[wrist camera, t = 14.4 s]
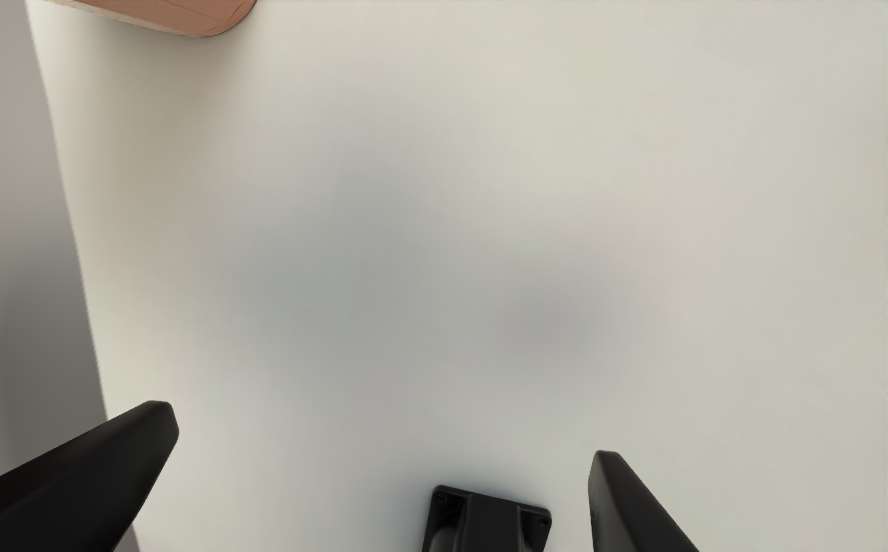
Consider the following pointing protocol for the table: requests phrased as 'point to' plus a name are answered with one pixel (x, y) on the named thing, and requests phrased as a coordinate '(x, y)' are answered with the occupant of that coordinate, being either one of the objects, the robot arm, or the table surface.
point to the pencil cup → (170, 13)
